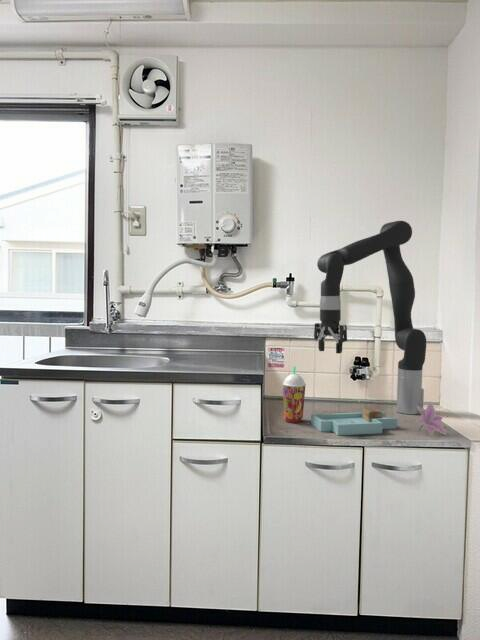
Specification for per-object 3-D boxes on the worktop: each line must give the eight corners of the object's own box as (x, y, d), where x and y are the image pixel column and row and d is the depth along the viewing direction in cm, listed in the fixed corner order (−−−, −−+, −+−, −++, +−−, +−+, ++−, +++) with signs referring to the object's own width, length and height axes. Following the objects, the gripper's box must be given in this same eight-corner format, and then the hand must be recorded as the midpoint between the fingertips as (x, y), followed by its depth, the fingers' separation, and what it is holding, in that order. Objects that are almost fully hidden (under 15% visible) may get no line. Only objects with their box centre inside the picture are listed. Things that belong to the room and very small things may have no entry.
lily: (409, 438, 174) (423, 417, 170) (401, 417, 185) (414, 396, 181) (442, 449, 175) (456, 428, 171) (432, 427, 186) (445, 406, 182)
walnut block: (375, 417, 189) (375, 408, 189) (381, 421, 184) (382, 411, 184) (362, 418, 188) (362, 408, 188) (368, 421, 183) (368, 412, 183)
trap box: (383, 421, 193) (383, 411, 192) (404, 432, 178) (404, 422, 178) (310, 424, 187) (311, 414, 187) (326, 435, 172) (326, 425, 172)
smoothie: (278, 419, 193) (279, 365, 192) (298, 417, 196) (299, 364, 195) (287, 424, 185) (289, 368, 184) (308, 423, 188) (310, 367, 187)
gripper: (352, 308, 189) (351, 353, 190) (323, 307, 200) (323, 349, 202) (337, 309, 185) (337, 355, 186) (309, 308, 196) (309, 351, 197)
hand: (330, 352), depth 194 cm, fingers open, 8 cm apart
